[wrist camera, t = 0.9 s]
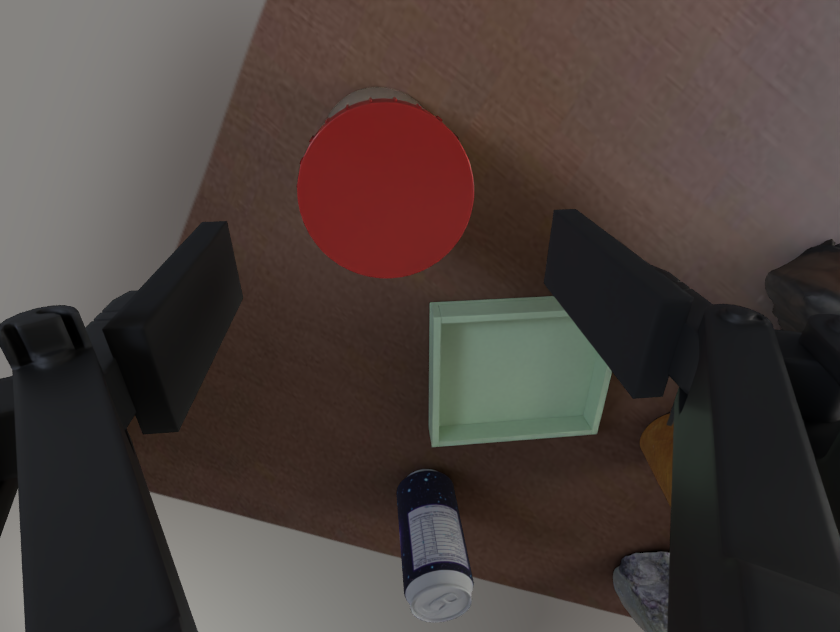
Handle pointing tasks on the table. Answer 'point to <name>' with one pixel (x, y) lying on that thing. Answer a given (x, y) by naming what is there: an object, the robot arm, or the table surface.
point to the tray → (511, 372)
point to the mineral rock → (645, 588)
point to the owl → (806, 286)
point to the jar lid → (385, 188)
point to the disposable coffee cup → (659, 452)
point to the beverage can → (433, 547)
